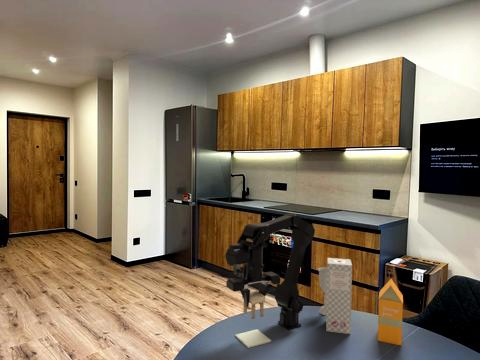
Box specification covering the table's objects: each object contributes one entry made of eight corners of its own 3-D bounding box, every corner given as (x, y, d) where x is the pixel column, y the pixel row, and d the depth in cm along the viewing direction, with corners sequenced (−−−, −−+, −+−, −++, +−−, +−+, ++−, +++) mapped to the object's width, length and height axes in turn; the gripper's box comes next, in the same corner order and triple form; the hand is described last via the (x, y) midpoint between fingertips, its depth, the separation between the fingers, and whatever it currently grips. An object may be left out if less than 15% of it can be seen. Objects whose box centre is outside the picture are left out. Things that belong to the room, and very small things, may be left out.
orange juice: (401, 334, 122) (403, 279, 122) (401, 345, 114) (403, 287, 114) (378, 329, 125) (379, 276, 125) (377, 340, 117) (378, 283, 117)
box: (326, 331, 124) (327, 263, 123) (326, 321, 132) (327, 257, 131) (350, 334, 122) (352, 265, 121) (348, 323, 130) (350, 259, 129)
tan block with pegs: (264, 316, 115) (265, 296, 115) (252, 319, 113) (252, 298, 113) (254, 308, 121) (254, 289, 121) (242, 311, 119) (242, 292, 119)
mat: (257, 330, 123) (257, 329, 123) (270, 341, 115) (270, 340, 115) (235, 336, 119) (235, 334, 119) (248, 348, 111) (248, 346, 111)
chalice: (334, 317, 135) (335, 272, 135) (317, 315, 137) (318, 271, 136) (333, 309, 143) (334, 267, 142) (316, 308, 144) (317, 266, 143)
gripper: (264, 252, 128) (263, 293, 128) (219, 258, 119) (219, 302, 119) (281, 259, 118) (280, 303, 119) (234, 266, 109) (233, 314, 110)
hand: (253, 305), depth 117 cm, fingers closed on tan block with pegs, 5 cm apart
